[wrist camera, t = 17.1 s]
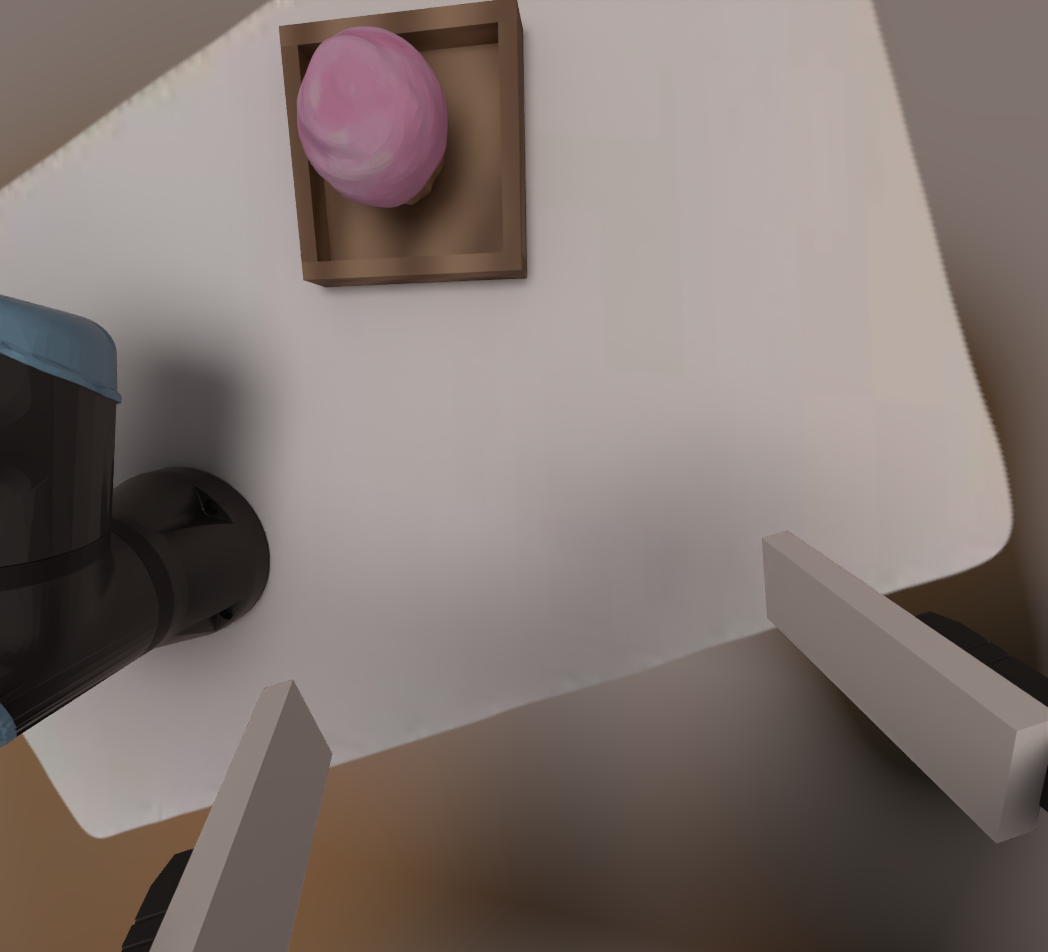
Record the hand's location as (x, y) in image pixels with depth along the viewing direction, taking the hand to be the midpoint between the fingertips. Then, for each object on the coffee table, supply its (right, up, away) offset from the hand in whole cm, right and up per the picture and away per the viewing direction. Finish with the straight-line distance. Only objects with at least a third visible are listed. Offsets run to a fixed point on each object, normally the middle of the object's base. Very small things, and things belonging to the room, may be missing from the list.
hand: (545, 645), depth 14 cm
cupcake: (-9, +27, +23) cm, 36 cm away
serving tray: (-8, +27, +23) cm, 37 cm away
